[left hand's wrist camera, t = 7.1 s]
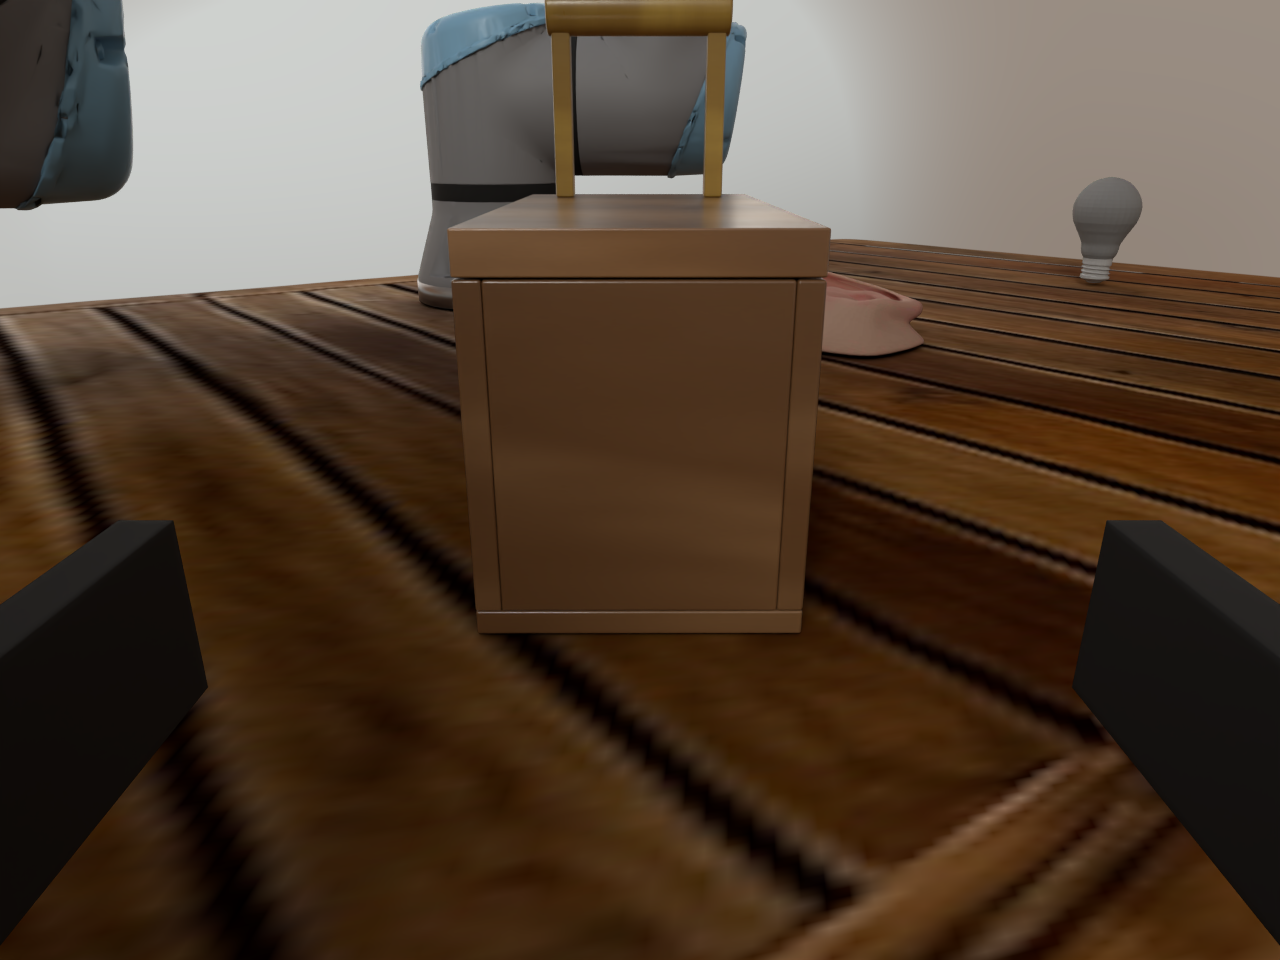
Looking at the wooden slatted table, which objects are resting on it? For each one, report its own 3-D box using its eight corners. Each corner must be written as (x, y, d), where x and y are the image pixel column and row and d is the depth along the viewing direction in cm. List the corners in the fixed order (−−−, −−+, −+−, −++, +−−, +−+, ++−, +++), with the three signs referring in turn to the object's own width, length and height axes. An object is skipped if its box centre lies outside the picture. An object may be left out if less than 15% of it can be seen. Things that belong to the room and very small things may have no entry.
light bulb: (1072, 286, 85) (1091, 178, 82) (1052, 277, 91) (1069, 176, 87) (1137, 287, 84) (1158, 178, 81) (1113, 278, 90) (1132, 176, 86)
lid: (532, 222, 37) (523, -5, 34) (744, 222, 37) (754, -5, 34) (450, 278, 21) (417, -148, 18) (827, 277, 21) (859, -147, 18)
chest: (540, 445, 40) (531, 225, 36) (737, 444, 40) (746, 224, 36) (477, 634, 24) (449, 280, 21) (801, 634, 24) (827, 280, 21)
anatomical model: (920, 298, 53) (739, 287, 57) (912, 361, 55) (737, 346, 59) (941, 272, 65) (789, 264, 69) (934, 325, 66) (786, 314, 70)
